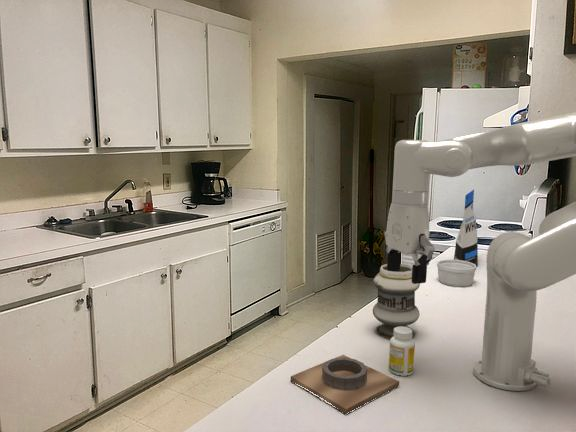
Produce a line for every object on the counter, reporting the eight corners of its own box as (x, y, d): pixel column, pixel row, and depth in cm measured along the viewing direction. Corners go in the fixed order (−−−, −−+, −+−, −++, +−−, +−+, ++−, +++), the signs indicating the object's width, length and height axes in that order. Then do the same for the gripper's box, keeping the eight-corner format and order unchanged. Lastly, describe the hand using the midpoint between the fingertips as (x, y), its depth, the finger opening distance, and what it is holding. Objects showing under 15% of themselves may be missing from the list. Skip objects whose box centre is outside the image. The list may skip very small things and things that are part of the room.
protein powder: (448, 270, 186) (452, 194, 181) (458, 257, 207) (462, 188, 202) (473, 273, 181) (479, 196, 177) (481, 259, 203) (486, 190, 198)
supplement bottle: (393, 377, 102) (394, 335, 101) (385, 365, 107) (387, 325, 106) (417, 376, 103) (419, 334, 101) (408, 364, 108) (410, 324, 106)
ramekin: (483, 286, 166) (484, 266, 165) (453, 290, 161) (454, 270, 160) (457, 276, 178) (458, 258, 177) (428, 279, 174) (429, 261, 172)
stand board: (399, 386, 98) (399, 370, 98) (345, 414, 88) (346, 396, 87) (343, 359, 110) (343, 344, 110) (290, 381, 100) (290, 365, 100)
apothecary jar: (362, 331, 126) (364, 266, 124) (390, 320, 134) (393, 258, 131) (399, 346, 117) (402, 276, 114) (427, 333, 125) (431, 267, 122)
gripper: (374, 194, 107) (370, 267, 110) (419, 204, 91) (413, 290, 94) (402, 193, 110) (398, 265, 112) (451, 203, 93) (445, 286, 96)
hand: (405, 276), depth 103 cm, fingers open, 9 cm apart
